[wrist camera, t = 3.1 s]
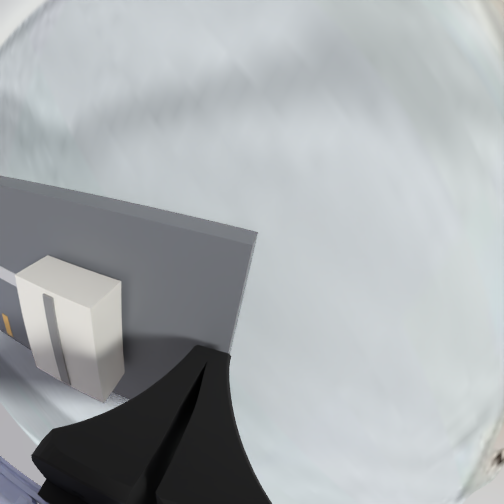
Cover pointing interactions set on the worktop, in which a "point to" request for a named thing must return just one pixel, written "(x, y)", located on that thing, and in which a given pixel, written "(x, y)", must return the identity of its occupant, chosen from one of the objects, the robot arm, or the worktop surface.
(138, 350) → the console
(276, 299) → the worktop surface
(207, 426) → the robot arm
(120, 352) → the fader knob
